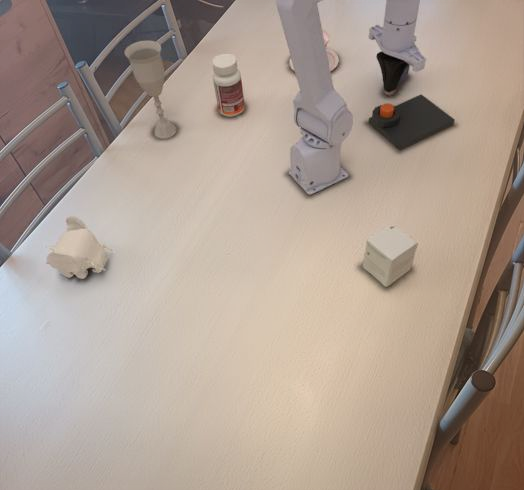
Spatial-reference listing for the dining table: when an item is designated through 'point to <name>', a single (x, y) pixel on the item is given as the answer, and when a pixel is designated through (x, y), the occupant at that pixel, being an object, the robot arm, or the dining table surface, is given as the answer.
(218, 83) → the pill bottle
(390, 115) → the button
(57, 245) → the elephant figurine
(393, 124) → the scale
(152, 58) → the chalice
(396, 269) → the product box
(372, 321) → the dining table surface
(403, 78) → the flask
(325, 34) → the teacup
